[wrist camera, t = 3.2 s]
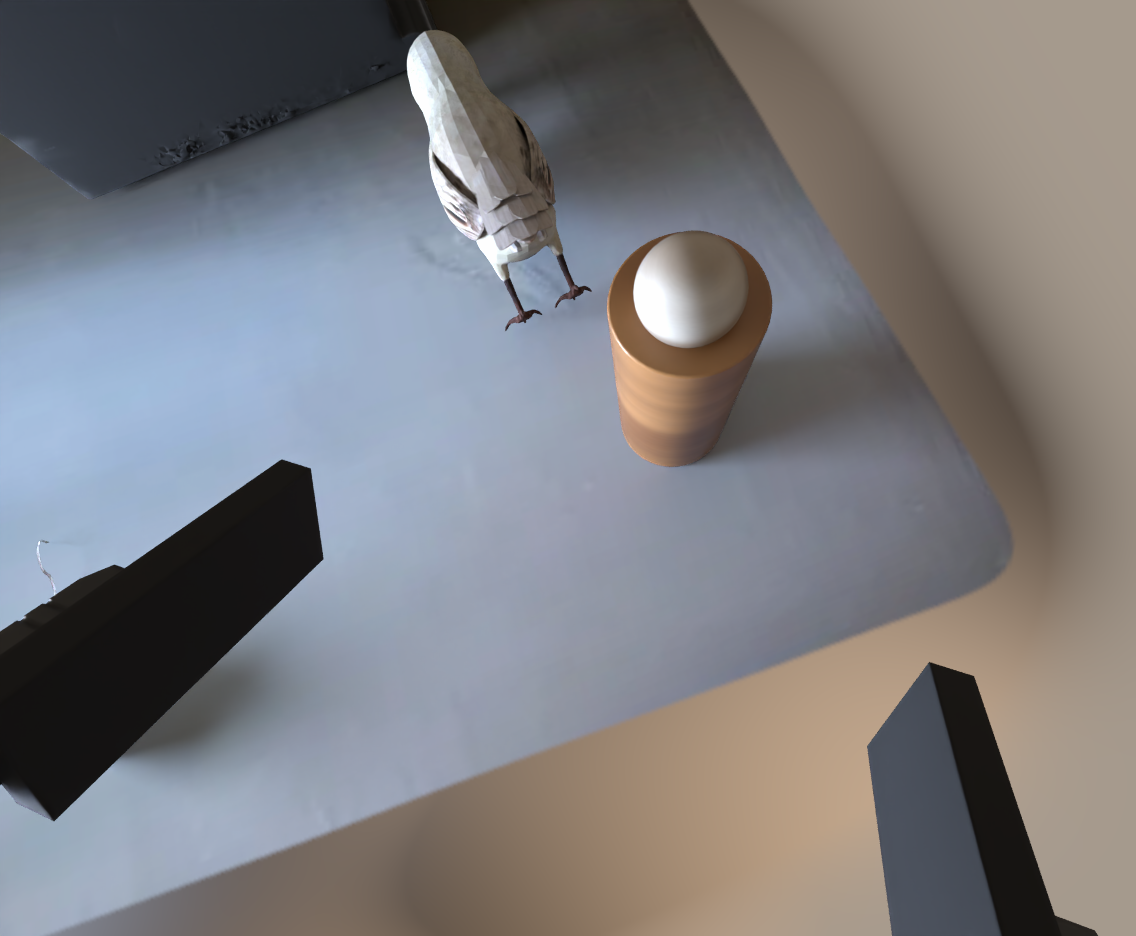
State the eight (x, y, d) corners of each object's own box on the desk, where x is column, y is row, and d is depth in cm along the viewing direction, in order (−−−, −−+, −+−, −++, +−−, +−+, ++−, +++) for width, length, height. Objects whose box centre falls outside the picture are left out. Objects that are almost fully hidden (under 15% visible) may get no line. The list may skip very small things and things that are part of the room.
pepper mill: (707, 479, 27) (765, 364, 14) (608, 451, 28) (578, 320, 15) (734, 384, 28) (810, 196, 15) (637, 361, 29) (631, 164, 16)
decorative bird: (492, 84, 34) (450, -59, 26) (607, 308, 29) (595, 211, 22) (408, 124, 34) (344, -8, 27) (511, 352, 30) (467, 270, 22)
